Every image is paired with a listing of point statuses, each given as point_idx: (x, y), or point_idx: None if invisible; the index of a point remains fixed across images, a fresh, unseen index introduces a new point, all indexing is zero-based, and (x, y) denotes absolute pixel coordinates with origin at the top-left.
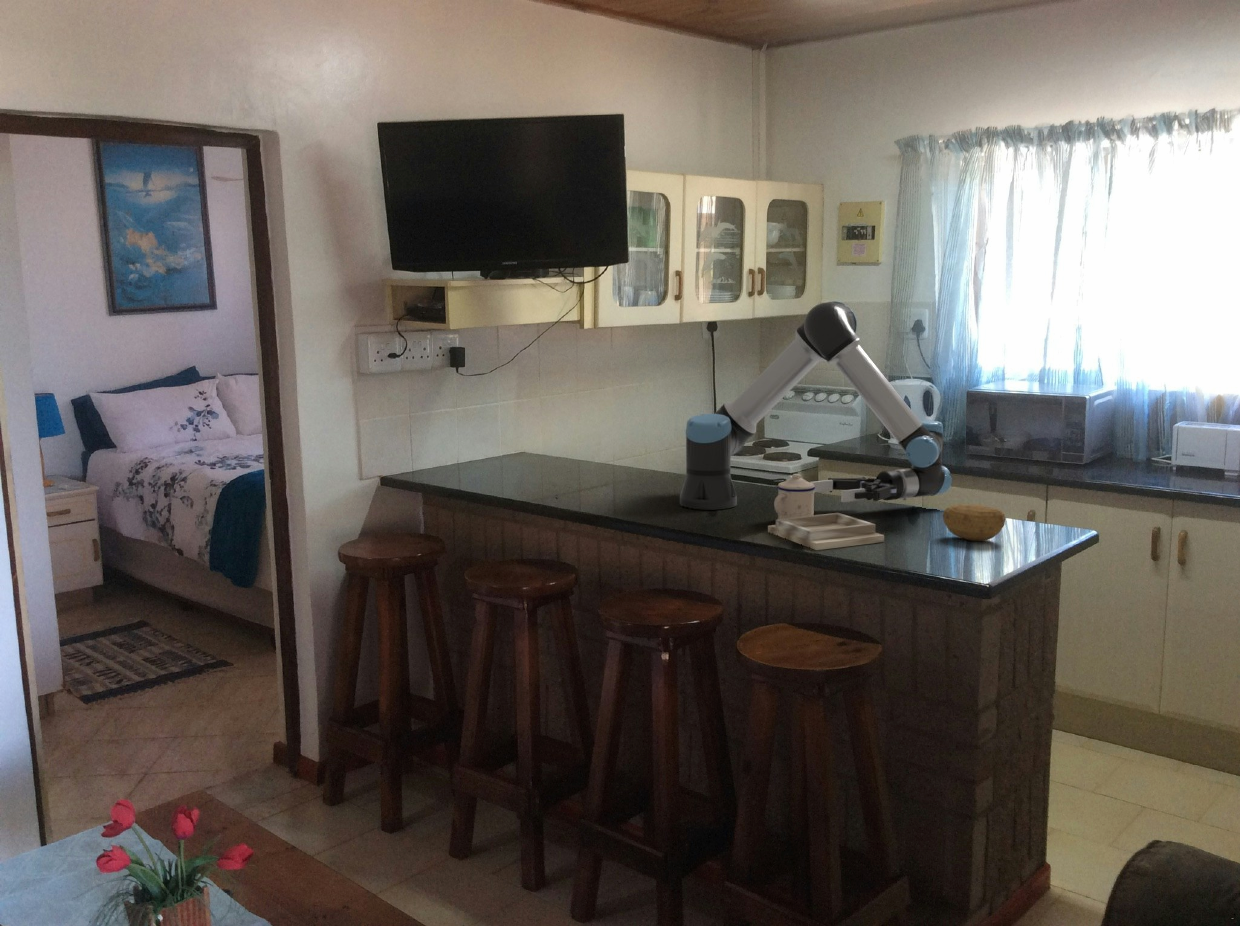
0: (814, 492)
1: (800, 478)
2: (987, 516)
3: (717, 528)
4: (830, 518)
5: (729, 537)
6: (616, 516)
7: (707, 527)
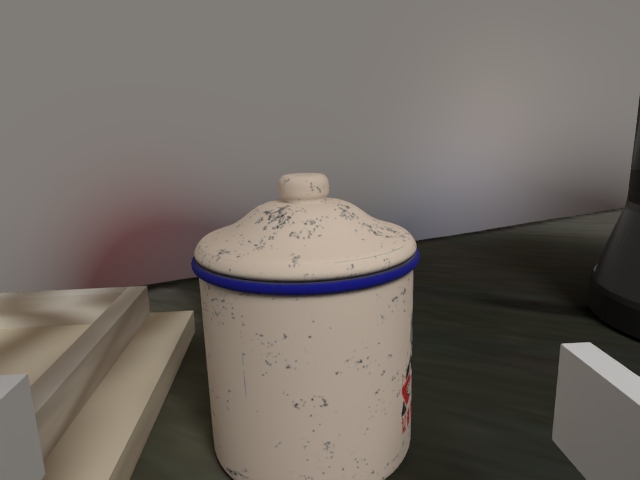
0: (573, 463)
1: (295, 204)
2: None
3: None
4: None
5: None
6: (496, 234)
7: None
